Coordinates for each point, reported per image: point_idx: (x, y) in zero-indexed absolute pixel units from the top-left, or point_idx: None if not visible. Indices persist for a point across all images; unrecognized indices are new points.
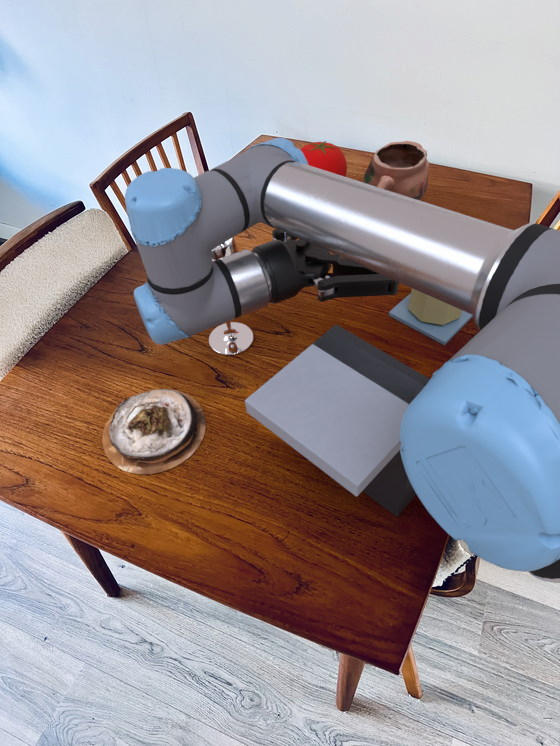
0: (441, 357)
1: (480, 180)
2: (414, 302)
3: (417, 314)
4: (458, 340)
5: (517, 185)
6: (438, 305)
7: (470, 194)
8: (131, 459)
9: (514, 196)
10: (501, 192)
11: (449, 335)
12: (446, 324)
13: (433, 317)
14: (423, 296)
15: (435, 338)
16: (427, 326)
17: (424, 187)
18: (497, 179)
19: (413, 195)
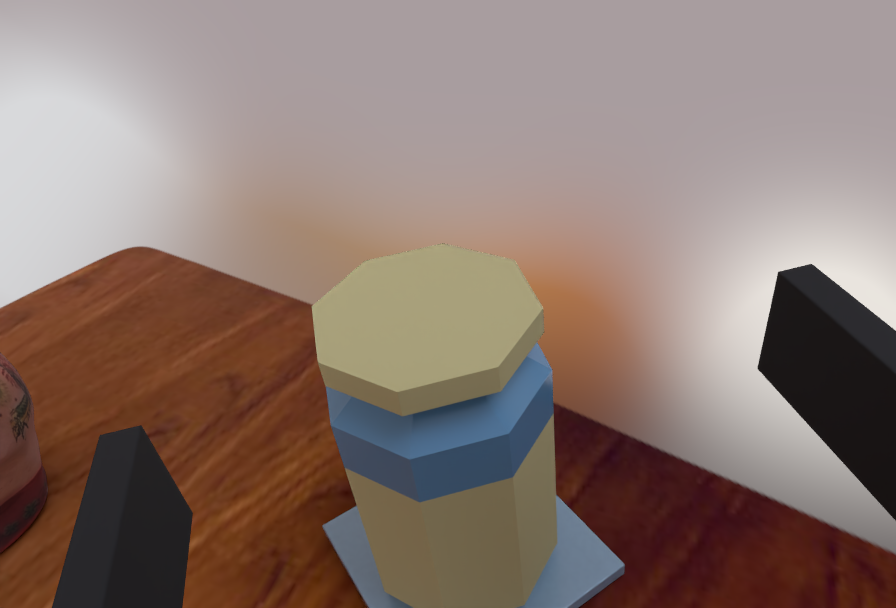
0: (679, 601)
1: (50, 297)
2: (469, 591)
3: (499, 605)
4: (604, 526)
5: (127, 253)
6: (542, 515)
7: (75, 326)
8: None
9: (153, 266)
10: (122, 279)
11: (594, 542)
12: None
13: (540, 556)
14: (505, 545)
15: (597, 588)
16: (539, 593)
17: (10, 365)
18: (78, 273)
19: (13, 403)
